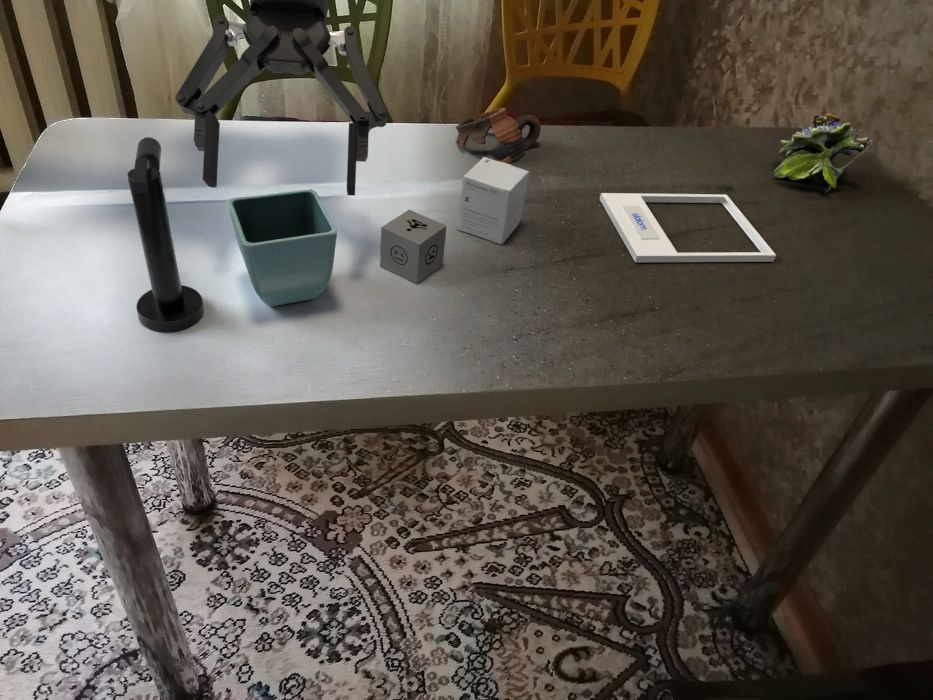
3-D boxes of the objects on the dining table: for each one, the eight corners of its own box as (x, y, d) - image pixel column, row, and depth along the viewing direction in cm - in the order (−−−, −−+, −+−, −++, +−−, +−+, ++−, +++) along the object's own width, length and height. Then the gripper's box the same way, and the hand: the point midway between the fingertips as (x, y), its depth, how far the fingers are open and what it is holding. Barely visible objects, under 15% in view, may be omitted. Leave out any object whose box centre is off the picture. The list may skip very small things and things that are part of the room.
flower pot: (235, 272, 79) (225, 197, 73) (317, 260, 82) (314, 187, 76) (252, 323, 73) (243, 245, 67) (339, 307, 76) (338, 232, 70)
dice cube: (442, 263, 84) (446, 225, 81) (416, 283, 80) (419, 244, 77) (407, 247, 86) (409, 209, 82) (380, 266, 82) (381, 227, 79)
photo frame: (601, 191, 98) (727, 193, 101) (599, 199, 99) (724, 200, 102) (637, 254, 87) (776, 253, 90) (635, 262, 88) (773, 261, 91)
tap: (143, 271, 77) (110, 124, 67) (204, 268, 79) (181, 123, 68) (136, 338, 70) (97, 183, 59) (203, 332, 71) (178, 181, 61)
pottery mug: (486, 187, 99) (465, 127, 96) (459, 185, 107) (439, 129, 104) (561, 154, 102) (543, 94, 99) (529, 153, 110) (512, 98, 107)
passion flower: (790, 200, 116) (848, 136, 113) (835, 225, 107) (899, 157, 104) (748, 159, 111) (807, 91, 107) (791, 183, 102) (857, 109, 98)
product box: (455, 230, 89) (461, 175, 85) (476, 208, 94) (483, 155, 89) (502, 246, 88) (511, 190, 83) (521, 223, 92) (530, 169, 87)
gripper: (412, 10, 80) (406, 204, 79) (171, -11, 77) (159, 190, 76) (416, -30, 73) (409, 184, 71) (149, -55, 70) (136, 167, 68)
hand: (281, 188), depth 73 cm, fingers open, 13 cm apart
